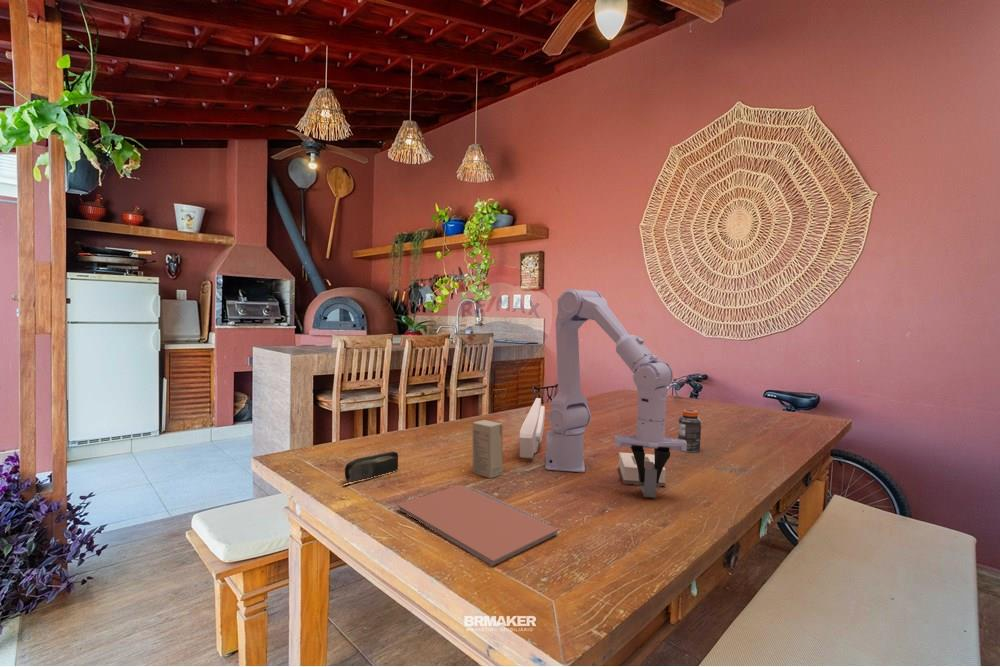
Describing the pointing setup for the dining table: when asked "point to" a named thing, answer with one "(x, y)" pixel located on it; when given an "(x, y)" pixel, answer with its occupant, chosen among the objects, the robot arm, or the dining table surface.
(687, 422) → the pill bottle
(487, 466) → the skincare box
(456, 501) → the notebook
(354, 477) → the black rounded block
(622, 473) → the post block
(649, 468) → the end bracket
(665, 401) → the robot arm
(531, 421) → the shelf bracket
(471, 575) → the dining table surface
